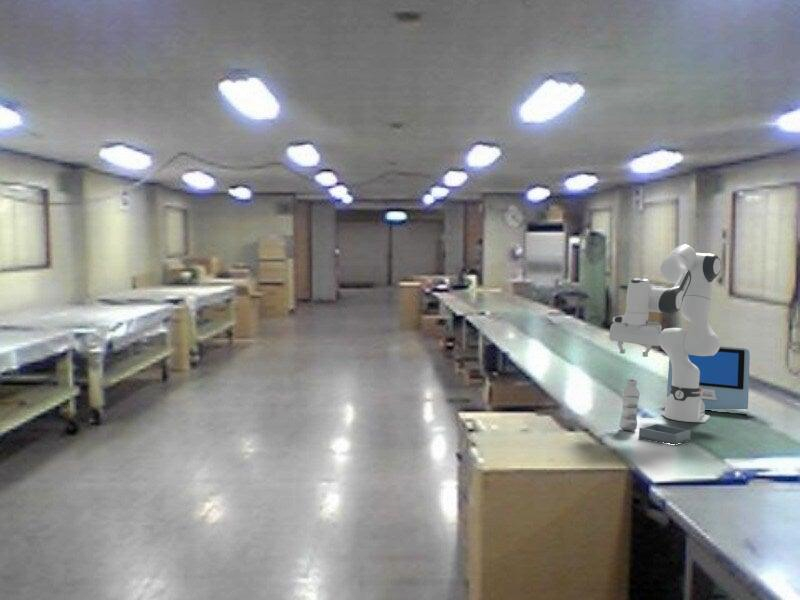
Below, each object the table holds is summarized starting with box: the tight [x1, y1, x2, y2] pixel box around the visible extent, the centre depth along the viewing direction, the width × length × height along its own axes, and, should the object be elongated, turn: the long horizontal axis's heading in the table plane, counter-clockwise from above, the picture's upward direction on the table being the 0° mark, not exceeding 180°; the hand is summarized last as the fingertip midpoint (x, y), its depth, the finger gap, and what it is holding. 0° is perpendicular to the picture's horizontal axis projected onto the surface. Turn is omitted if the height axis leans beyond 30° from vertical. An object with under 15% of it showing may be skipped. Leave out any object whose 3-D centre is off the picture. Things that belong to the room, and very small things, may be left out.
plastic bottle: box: [619, 379, 640, 432], centre depth 310 cm, size 6×7×20 cm
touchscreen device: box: [666, 345, 751, 410], centre depth 372 cm, size 35×20×30 cm, turn 73°
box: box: [638, 423, 692, 445], centre depth 298 cm, size 14×14×4 cm
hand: (633, 355), depth 309 cm, fingers open, 8 cm apart
